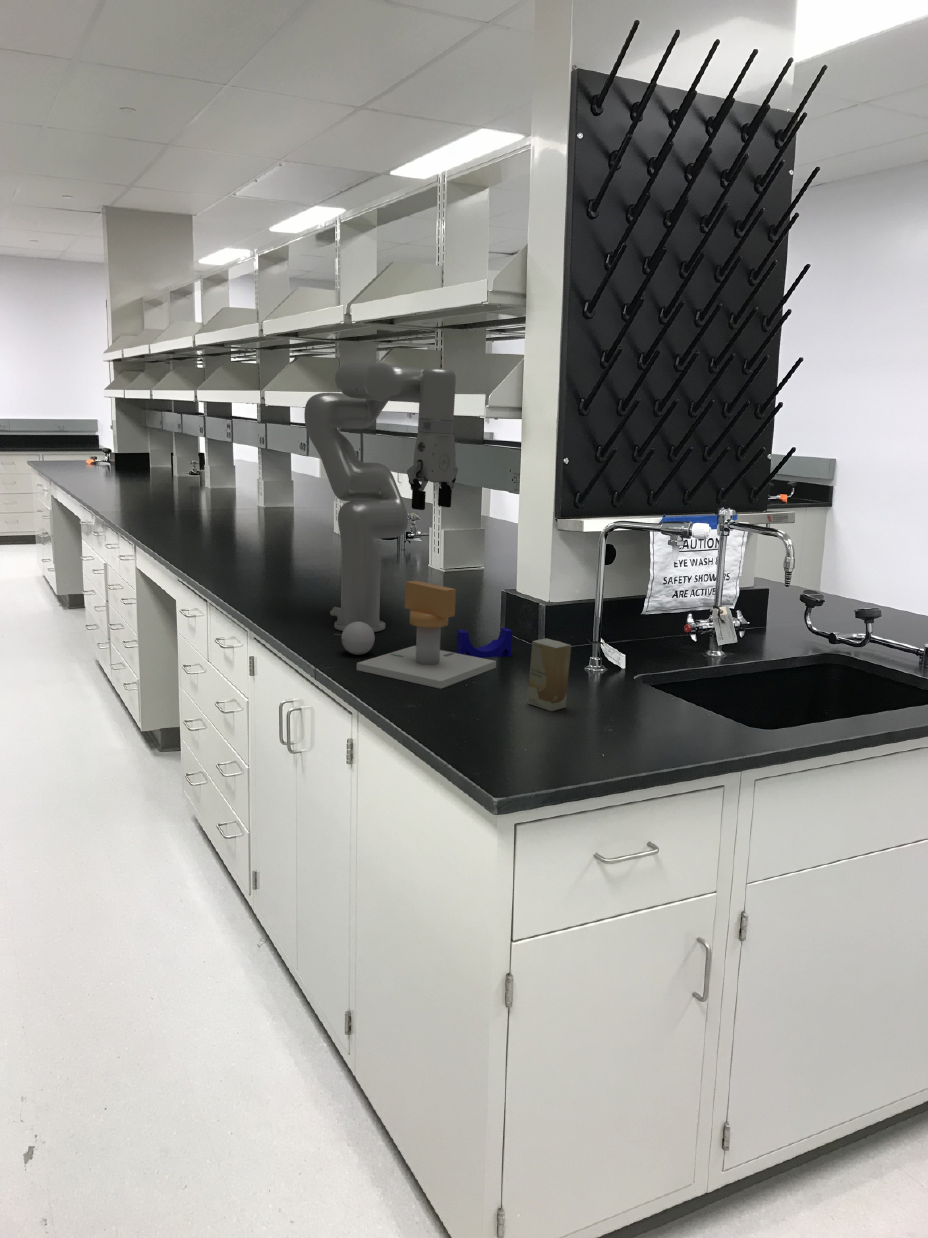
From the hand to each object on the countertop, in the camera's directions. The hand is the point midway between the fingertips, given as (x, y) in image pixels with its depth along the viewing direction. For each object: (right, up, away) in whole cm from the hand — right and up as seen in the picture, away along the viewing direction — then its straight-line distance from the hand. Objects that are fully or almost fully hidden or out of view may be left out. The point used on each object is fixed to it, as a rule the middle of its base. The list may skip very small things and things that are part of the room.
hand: (431, 507), depth 204 cm
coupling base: (-1, -35, -8) cm, 36 cm away
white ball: (-17, -32, +3) cm, 37 cm away
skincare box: (+23, -41, -30) cm, 55 cm away
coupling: (0, -25, -10) cm, 27 cm away
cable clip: (+11, -33, +7) cm, 35 cm away
